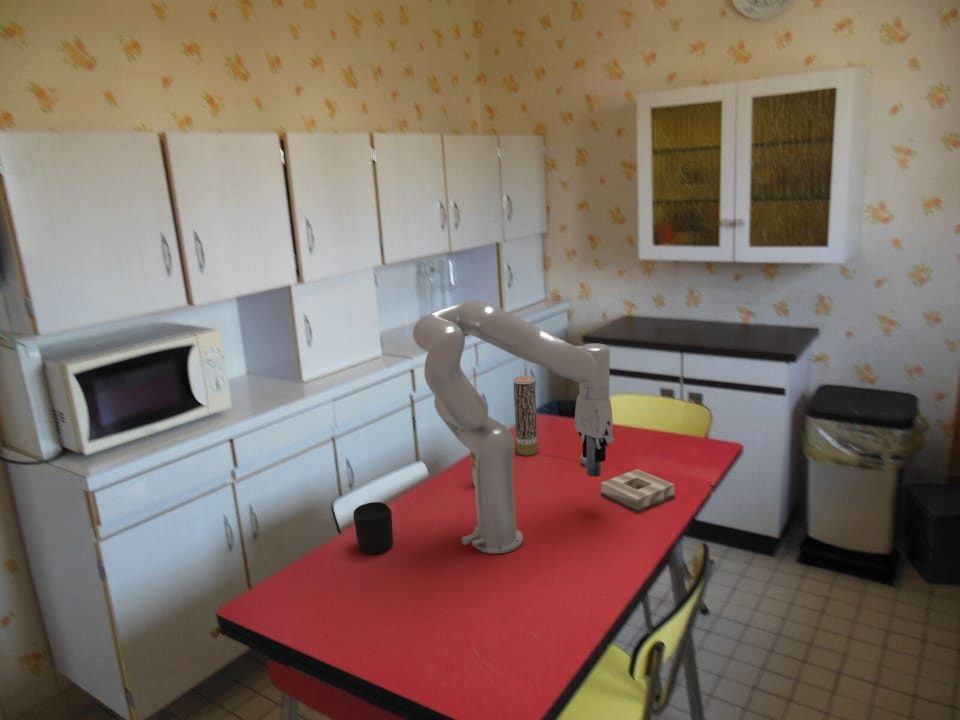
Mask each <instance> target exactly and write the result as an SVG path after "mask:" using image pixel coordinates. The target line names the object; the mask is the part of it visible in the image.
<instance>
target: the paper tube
mask: <svg viewBox="0 0 960 720" xmlns="http://www.w3.org/2000/svg"><path fill="white" fill-rule="evenodd" d="M513 399H514V401H513V402H514V419H515V421H514V422H515V437H516V438H515V439H516V451H517V453H518V455H520V456H524V457H529V456H535V455H536V454H537V453H538V451H539V447H538V427H537V426H538V425H537V423H538V421H537V404H536V403H537V402H536V381H535V377H533V376H528V375H527V376H526V375H525V376H518V377H515V378H513Z"/></svg>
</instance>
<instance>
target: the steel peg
mask: <svg viewBox="0 0 960 720" xmlns="http://www.w3.org/2000/svg"><path fill="white" fill-rule="evenodd" d="M600 440H601V442H602V439H600ZM595 448H597V445H596V439H595V438H592V437H590V436H587V435H586V466H585V468H586V469H585V471H586V473H585V474H586V476H588V477H593V478H594V477H597V478H598V477H600V476H602V474H603V473H602V468H603V466H602V463H603V461H602V462H599V463H596V462H595Z"/></svg>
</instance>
